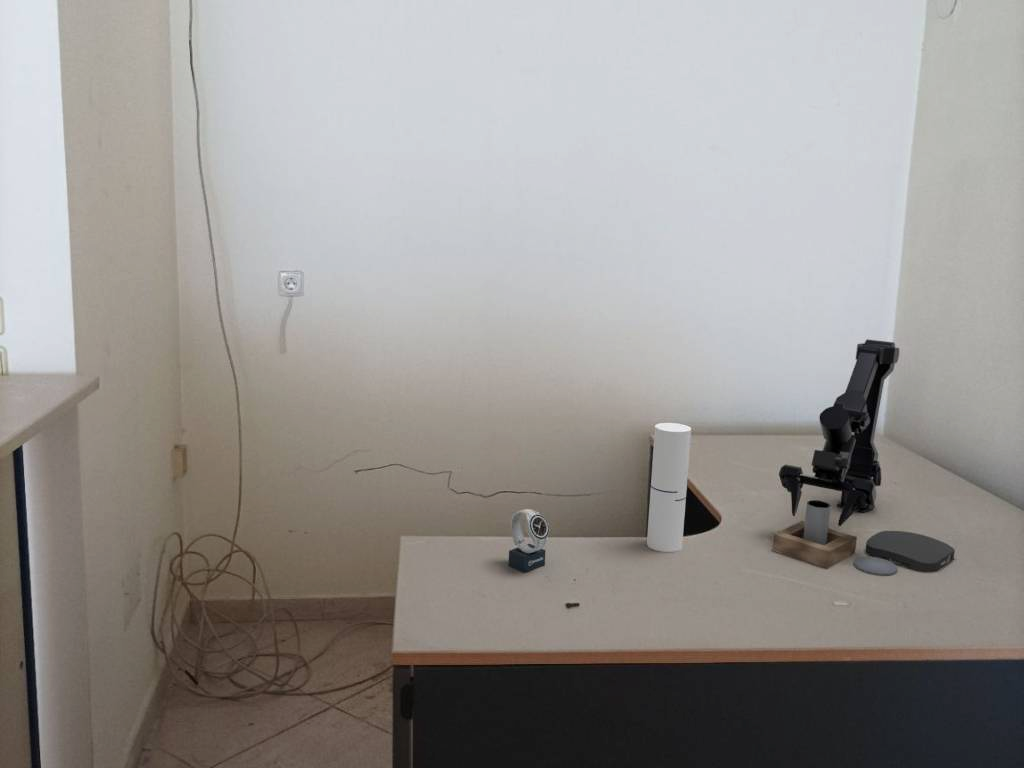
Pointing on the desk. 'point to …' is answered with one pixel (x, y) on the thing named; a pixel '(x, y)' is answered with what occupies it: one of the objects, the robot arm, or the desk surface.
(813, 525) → the planter
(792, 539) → the planter holder
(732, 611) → the desk surface
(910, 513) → the desk surface
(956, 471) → the desk surface
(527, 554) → the watch
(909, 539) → the media streaming box
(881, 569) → the mat
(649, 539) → the cylindrical container
